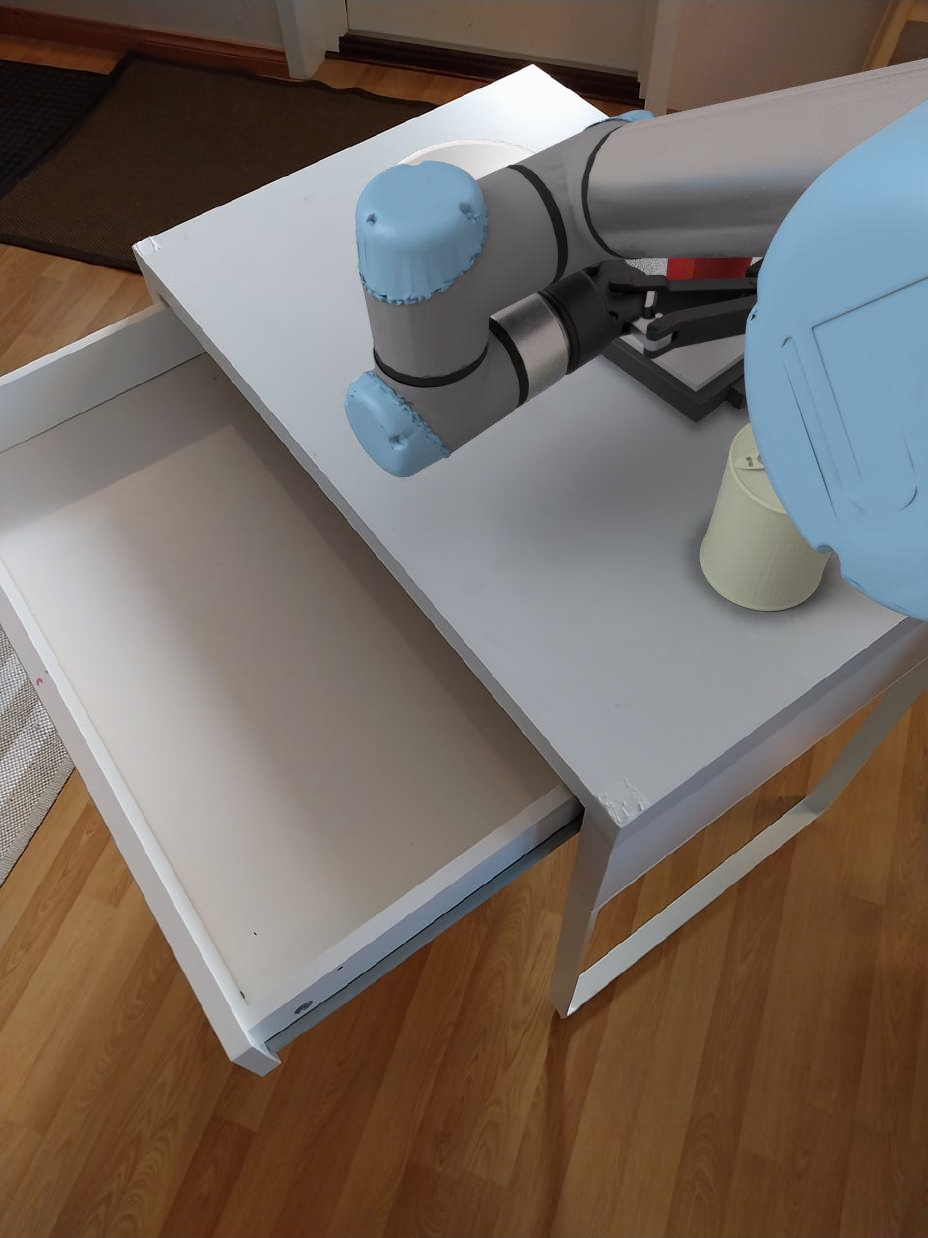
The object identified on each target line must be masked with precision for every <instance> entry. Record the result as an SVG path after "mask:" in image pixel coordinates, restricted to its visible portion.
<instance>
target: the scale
mask: <svg viewBox="0 0 928 1238" xmlns="http://www.w3.org/2000/svg"><path fill="white" fill-rule="evenodd" d="M666 271H667V264H665V265H664V266H662V267H661V268H660V269H657V270H656V271H654V272H653V273H651V274H650V275H660V274H661V275H665V276H666ZM654 292H655V291H648V293H647V299H646V304H645V307H650V306H651V305H652V304H653V299H654ZM744 347H745V334H743V335H738V336H733V337H728V338H724V339H719V340H714V341H709V342H704V343H699V344H694V345H689V346H685V347H680V348H675V349H673V350H671V351H669V352H667V353H665V354H663V355H661V356H659V357H658V358H655V359H648V358H646V357H644V355H643V349H644V345H643V344H642V343H641V342H640V341H639V340H638V339H637V338H636V337H635V336H633V335H632V334H631V335H627V336H621V337H618V338H616V339H614V340H613V341H612V342H611V343H610V344H609V346H608V347H607V348H606V349H605V350H604V351H603V352H602V353H601V354H600V355H602V356H603V357H605V358H606V359H607V360H609V361H610V362H611V363H613V364H614V365H615V366H617V367H619V368H620V369H621V370H622V371H624V372H625V373H627V374H628V375H629V376H631V378H633V379H635V380H636V381H638V382H639V383H641V384H642V385H643V386H644V387H646V388H647V389H649V390H650V391H651V392H652V393H654V394H655V395H657V396H658V397H659V398H661V399H662V400H663V401H665V402H666V403H668V404H669V405H671V406H672V407H673V408H675V409H676V410H677V411H679V412H680V413H682V414H683V415H684V416H686V417H687V418H688V419H689V420H691V421H692V422H694V423H695V424H696V423H698V422H699V421H701V420H702V419H704V418H705V417H706V416H708V415H709V414H711V413H712V412H713V411H715V410H716V409H717V408H719V407H720V406H721V405H722V404H724V403H726V402H727V403H728V404H730V405H731V406H732V407H734V408H735V409H737V410H738V411H741V410H742V409H743V408H745V407H746V406H748V405H747V398H746V390H745V377H744Z"/></svg>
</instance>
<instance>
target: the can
mask: <svg viewBox="0 0 928 1238" xmlns="http://www.w3.org/2000/svg"><path fill="white" fill-rule="evenodd" d="M731 441H732V442H731V444H730V447H729V451H728V458H727V462H726V465H725V470H724V472H723V477H722V480H721V484H720V487H719V490H718V494H717V497H716V501H715V504H714V508H713V511H712V515H711V517H710V521H709V524H708V527H707V531H706V533H705V535H704V536H703V539H702V541H701V544H700V547H699V563H700V567H701V571H702V573H703V575H704V577H705V579H706V581H707V582H708V584H709V585H710V586H711V587H712V588H713V589H714V590H715V592H717V593H718V594H719V595H721V596H722V597H723V598H724V599H726V600H727V601H729V602H731V603H733V604H735V605H737V606H740V607H742V608H744V609H745V608H746V609H749V610H753V611H759V612H778V611H779V612H780V611H784V610H788V609H791V608H794V607H796V606H798V605H800V604H802V603H803V602H804V601H806V600H807V599H808V598H810V597H811V596H812V595H813V594H814V592H815V591H816V590H817V589H818V586H819V585H820V583H821V580H822V577H823V573H824V569H825V568H826V566H827V564H828V561H829V559H830V557H831V555H832V553H833V551H832V552H829V553H826V554H821V553H818V552H815V551H814V550H813V549H812V547H811V546H810V545H809V544H808V543H807V541H806V540H805V539H804V538H803V537H802V535H801V534H800V533H799V532H798V530H797V529H796V527H795V526H794V524H793V523H792V521H791V520H790V518H789V516H788V514H787V513H786V511H785V509H784V507H783V506H782V504H781V502H780V501H779V499H778V497H777V495H776V493H775V491H774V489H773V487H772V485H771V483H770V480H769V478H768V476H767V473H766V471H765V468H764V466H763V463H762V460H761V457H760V454H759V451H758V448H757V445H756V441H755V437H754V433H753V430H752V425H751V421H750V422H748V423H747V424H746V425H744V426H743V427H741V429H740V430H739V431H738V432H737V434H735V436H734V438H733V439H732V440H731Z"/></svg>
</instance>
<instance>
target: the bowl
mask: <svg viewBox="0 0 928 1238" xmlns="http://www.w3.org/2000/svg"><path fill="white" fill-rule="evenodd" d="M536 153H537V152H535V151H534V150H532V149H529V148H528V147H527V148H526V147H524V146H522V145H519V144H515V143H512V142H507V141H504V140H496V139H495V140H494V139H487V138H486V139H485V138H483V139H481V138H478V139H477V138H475V139H474V138H473V139H472V138H470V139H469V138H468V139H459V140H458V139H457V140H449V141H446V142H442V143H438V144H433V145H430V146H428V147H425V148H423V149H420V150H418V151H416V152H414V153H412V154H410V155H408V156H406V157H404V158H403V159H402V160H400V161H399V162H398V163H396V164H395V165H394V166H396V165H399V164H402V163H403V164H408V165H411V166H413V165H419V164H420V163H422V162H423V161H440V162H445V163H448V164H452V165H454V166H457V167H459V168H461V169H463V170H464V171H466V172H467V173H469V174H470V175H471V176H472V177H473V178H474V179H475V180H477V179H479V178H481V177H484V176H486V175H488V174H490V173H493V172H495V171H497V170H499V169H501V168H505V167H507V166H509V165H513V164H515V163H518V162H520V161H522V160H524V159H526V158H528V157H530V156H532V155H534V154H536Z"/></svg>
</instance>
